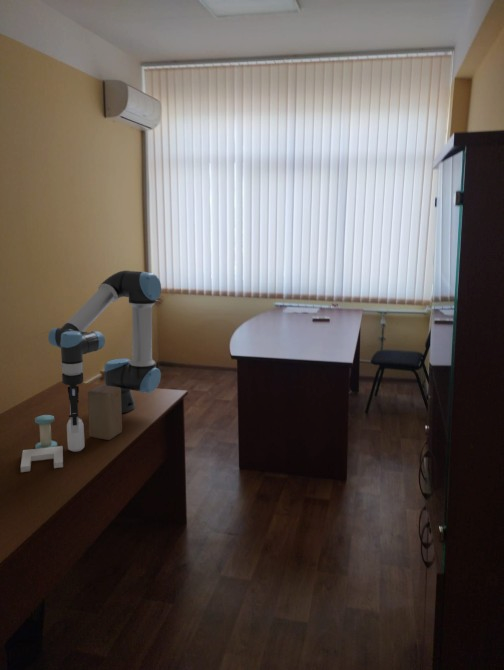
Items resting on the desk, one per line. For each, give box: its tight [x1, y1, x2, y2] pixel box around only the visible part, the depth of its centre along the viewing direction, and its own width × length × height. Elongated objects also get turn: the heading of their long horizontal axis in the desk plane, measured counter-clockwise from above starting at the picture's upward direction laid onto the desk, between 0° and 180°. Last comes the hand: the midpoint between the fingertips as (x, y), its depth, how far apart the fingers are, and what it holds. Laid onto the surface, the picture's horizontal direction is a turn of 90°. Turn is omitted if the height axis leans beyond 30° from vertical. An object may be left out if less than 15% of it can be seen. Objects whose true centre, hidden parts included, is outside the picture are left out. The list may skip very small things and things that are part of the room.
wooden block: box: [87, 384, 123, 441], centre depth 220 cm, size 10×10×20 cm
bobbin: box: [34, 414, 58, 449], centre depth 208 cm, size 8×8×12 cm
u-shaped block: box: [20, 445, 64, 473], centre depth 198 cm, size 14×14×2 cm
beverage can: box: [66, 417, 85, 453], centre depth 207 cm, size 6×6×12 cm
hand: (74, 426), depth 206 cm, fingers open, 13 cm apart
